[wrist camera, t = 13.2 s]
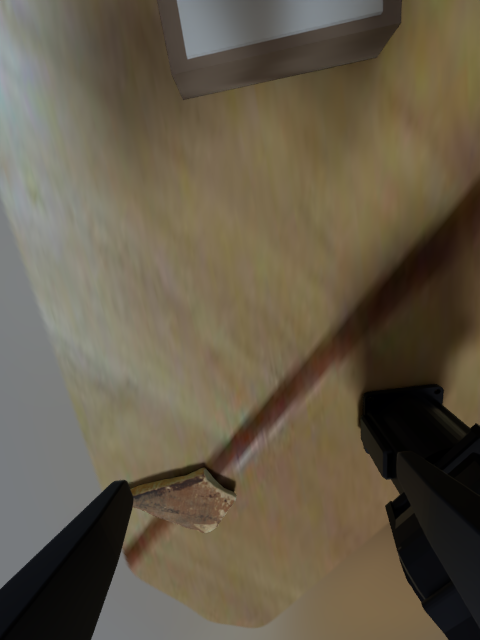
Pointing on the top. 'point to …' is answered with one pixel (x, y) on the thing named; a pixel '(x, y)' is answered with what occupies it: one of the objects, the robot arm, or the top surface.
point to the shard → (186, 500)
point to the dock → (269, 38)
